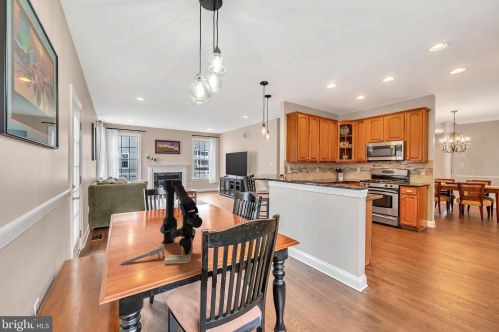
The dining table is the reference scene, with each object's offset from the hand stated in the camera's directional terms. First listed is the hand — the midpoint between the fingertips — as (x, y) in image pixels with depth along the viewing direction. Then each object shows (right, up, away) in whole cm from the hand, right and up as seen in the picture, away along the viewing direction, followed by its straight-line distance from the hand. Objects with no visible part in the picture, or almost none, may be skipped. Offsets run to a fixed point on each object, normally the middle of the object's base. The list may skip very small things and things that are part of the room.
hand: (187, 252), depth 113 cm
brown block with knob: (0, -2, 0) cm, 2 cm away
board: (-3, -2, -7) cm, 8 cm away
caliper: (-21, -2, -6) cm, 22 cm away
